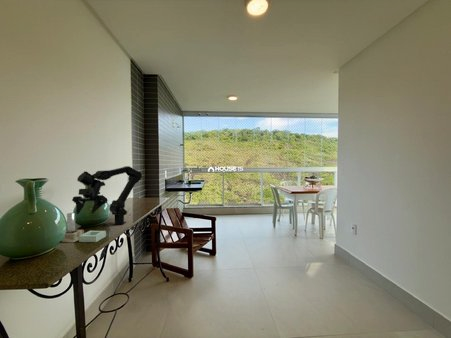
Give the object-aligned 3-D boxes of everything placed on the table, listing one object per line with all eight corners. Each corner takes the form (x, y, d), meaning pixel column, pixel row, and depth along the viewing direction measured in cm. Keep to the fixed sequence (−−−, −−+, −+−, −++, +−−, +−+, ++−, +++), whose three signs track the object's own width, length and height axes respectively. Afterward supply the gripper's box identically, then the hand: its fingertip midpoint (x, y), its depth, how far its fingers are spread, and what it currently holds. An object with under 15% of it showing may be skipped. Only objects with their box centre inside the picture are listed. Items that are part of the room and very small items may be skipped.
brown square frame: (69, 236, 122) (69, 229, 122) (83, 236, 122) (83, 229, 122) (58, 242, 114) (58, 234, 114) (73, 242, 114) (73, 234, 114)
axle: (70, 238, 120) (70, 212, 119) (77, 238, 120) (76, 212, 119) (65, 240, 116) (65, 214, 116) (72, 240, 116) (71, 214, 116)
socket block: (90, 236, 123) (90, 230, 123) (105, 236, 123) (105, 230, 123) (78, 241, 114) (78, 236, 114) (96, 242, 114) (95, 236, 114)
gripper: (70, 183, 127) (59, 208, 119) (100, 181, 125) (90, 207, 116) (83, 192, 137) (73, 216, 128) (111, 190, 134) (103, 215, 125)
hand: (84, 213), depth 124 cm, fingers open, 9 cm apart
